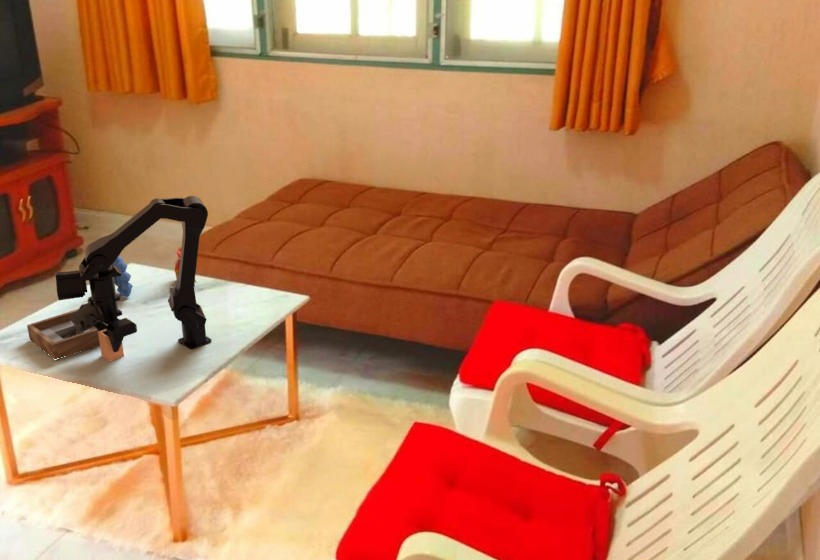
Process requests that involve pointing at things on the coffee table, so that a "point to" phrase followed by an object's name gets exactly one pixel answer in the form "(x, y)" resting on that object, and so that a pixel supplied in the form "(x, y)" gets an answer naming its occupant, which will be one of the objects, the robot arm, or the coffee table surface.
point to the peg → (108, 347)
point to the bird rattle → (178, 266)
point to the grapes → (122, 278)
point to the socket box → (62, 336)
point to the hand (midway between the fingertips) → (111, 348)
